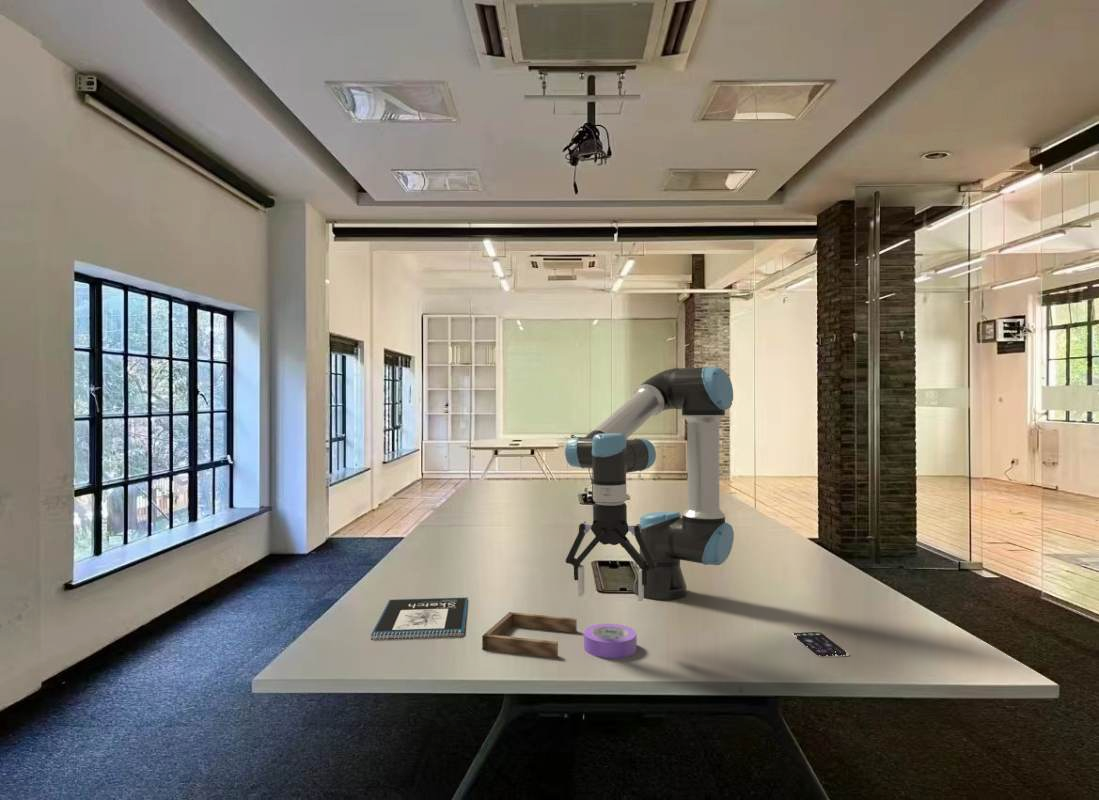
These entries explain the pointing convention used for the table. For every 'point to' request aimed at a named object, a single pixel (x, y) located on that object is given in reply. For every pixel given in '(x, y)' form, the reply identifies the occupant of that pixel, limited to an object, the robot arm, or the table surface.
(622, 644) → the masking tape
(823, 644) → the smartphone
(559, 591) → the table surface
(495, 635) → the wooden u-shaped frame
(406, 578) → the table surface
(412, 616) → the sketchbook
